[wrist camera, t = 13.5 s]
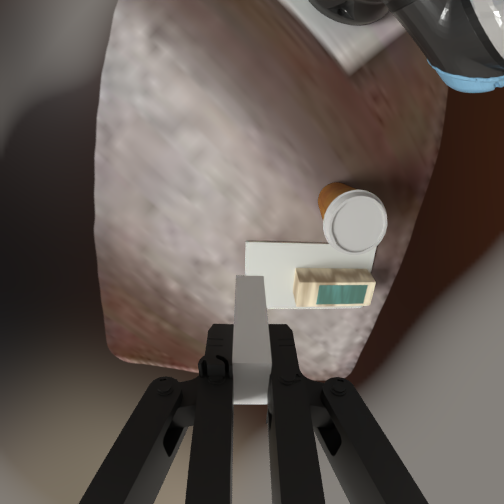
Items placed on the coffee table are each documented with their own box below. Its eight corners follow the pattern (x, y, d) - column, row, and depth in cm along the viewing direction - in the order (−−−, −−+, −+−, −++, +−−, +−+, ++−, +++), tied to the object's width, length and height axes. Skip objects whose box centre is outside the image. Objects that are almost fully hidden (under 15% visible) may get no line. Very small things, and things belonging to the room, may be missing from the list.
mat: (244, 307, 60) (244, 308, 59) (245, 241, 54) (245, 242, 53) (361, 306, 60) (361, 307, 60) (375, 244, 54) (376, 245, 54)
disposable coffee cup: (372, 199, 50) (402, 224, 40) (334, 236, 54) (355, 270, 43) (336, 161, 48) (361, 177, 37) (296, 202, 51) (310, 229, 40)
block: (296, 306, 53) (369, 305, 54) (299, 282, 51) (376, 282, 52) (292, 291, 58) (361, 290, 58) (295, 267, 56) (366, 268, 56)
